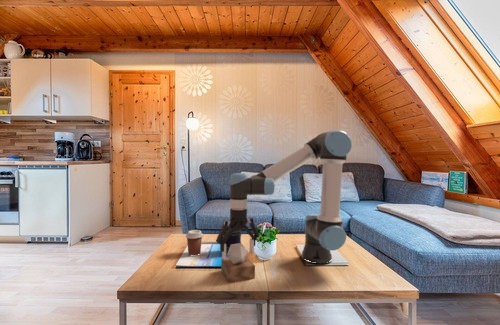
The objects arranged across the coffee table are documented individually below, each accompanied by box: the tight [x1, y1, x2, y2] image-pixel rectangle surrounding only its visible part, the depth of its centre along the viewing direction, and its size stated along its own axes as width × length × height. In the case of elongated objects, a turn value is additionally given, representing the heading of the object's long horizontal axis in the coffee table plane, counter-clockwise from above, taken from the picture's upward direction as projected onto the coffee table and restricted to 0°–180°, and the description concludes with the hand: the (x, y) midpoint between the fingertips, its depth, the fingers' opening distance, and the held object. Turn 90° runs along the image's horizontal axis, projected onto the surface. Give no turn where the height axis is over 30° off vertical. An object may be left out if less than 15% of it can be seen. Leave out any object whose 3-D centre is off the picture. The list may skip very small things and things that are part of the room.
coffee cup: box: [185, 229, 204, 256], centre depth 143 cm, size 9×9×12 cm
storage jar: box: [224, 224, 242, 254], centre depth 146 cm, size 10×10×15 cm
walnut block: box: [220, 256, 256, 283], centre depth 119 cm, size 12×12×6 cm
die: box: [226, 242, 249, 264], centre depth 118 cm, size 8×9×10 cm
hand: (238, 256), depth 119 cm, fingers open, 13 cm apart
